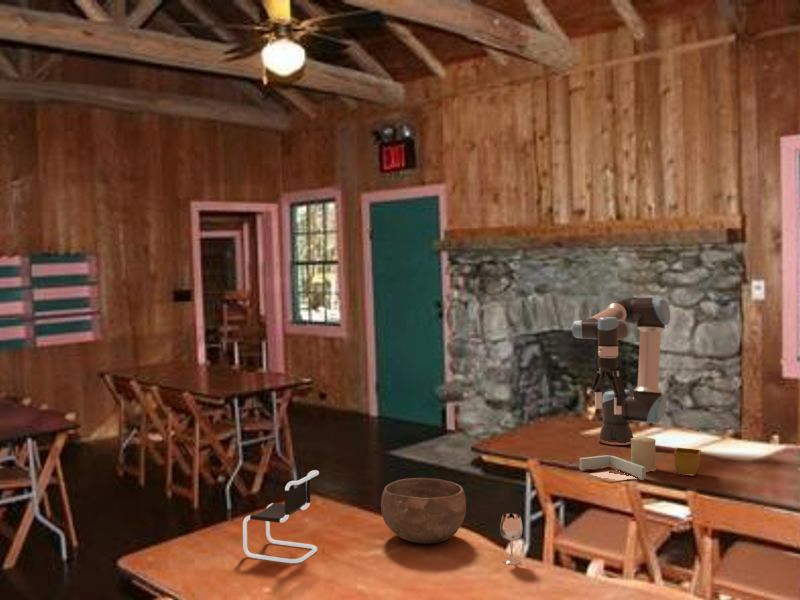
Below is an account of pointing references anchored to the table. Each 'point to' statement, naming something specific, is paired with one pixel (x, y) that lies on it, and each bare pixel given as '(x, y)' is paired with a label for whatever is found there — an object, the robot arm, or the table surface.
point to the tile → (612, 476)
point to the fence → (613, 464)
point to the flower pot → (687, 460)
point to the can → (643, 452)
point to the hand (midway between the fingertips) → (607, 411)
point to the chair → (284, 517)
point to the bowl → (423, 509)
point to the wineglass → (511, 533)
